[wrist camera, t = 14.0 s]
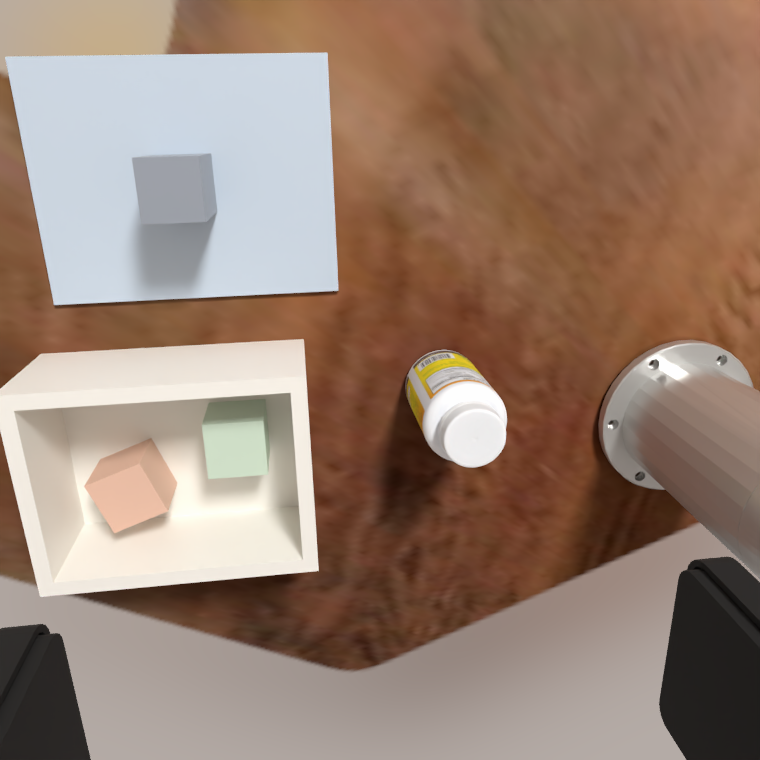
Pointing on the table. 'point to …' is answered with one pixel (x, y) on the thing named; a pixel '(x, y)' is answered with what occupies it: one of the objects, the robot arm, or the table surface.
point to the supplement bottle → (456, 408)
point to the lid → (179, 173)
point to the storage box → (180, 452)
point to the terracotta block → (132, 485)
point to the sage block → (236, 438)
